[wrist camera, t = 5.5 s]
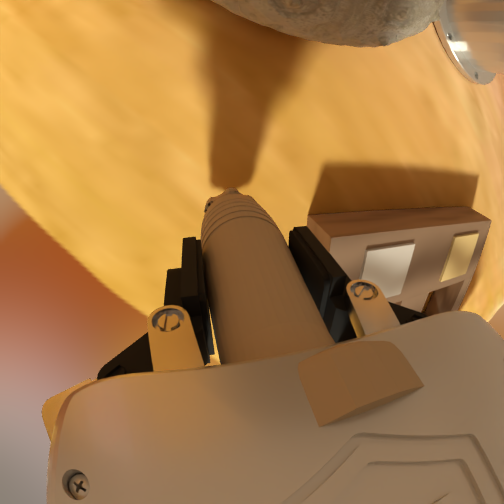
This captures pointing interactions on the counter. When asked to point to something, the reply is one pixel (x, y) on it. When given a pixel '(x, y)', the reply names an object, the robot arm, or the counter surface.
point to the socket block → (408, 251)
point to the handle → (287, 315)
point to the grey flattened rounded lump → (341, 18)
